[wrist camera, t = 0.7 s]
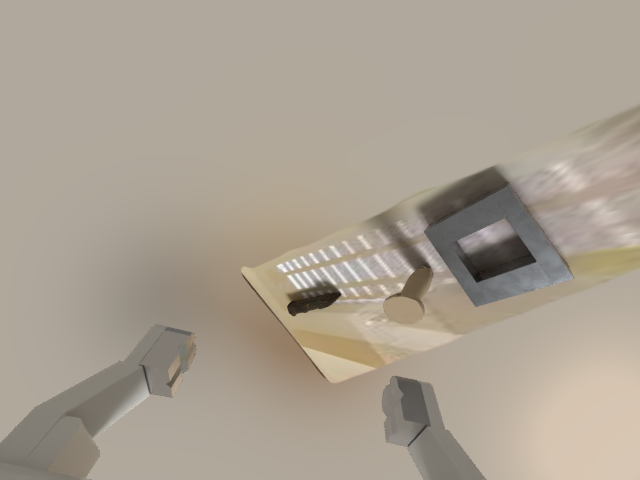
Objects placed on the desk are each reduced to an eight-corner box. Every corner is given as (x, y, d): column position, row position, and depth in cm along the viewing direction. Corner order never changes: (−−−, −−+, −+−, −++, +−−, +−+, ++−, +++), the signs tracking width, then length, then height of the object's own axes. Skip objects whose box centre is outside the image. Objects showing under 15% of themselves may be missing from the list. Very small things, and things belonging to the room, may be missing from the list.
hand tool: (299, 311, 80) (289, 319, 77) (293, 299, 80) (283, 307, 77) (346, 302, 68) (337, 312, 65) (340, 289, 68) (331, 297, 65)
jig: (508, 182, 41) (507, 185, 38) (569, 267, 40) (574, 278, 37) (429, 225, 50) (423, 231, 47) (477, 296, 49) (475, 306, 46)
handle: (406, 263, 55) (379, 297, 44) (438, 258, 51) (417, 295, 39) (413, 284, 56) (388, 323, 44) (445, 281, 52) (426, 323, 40)
